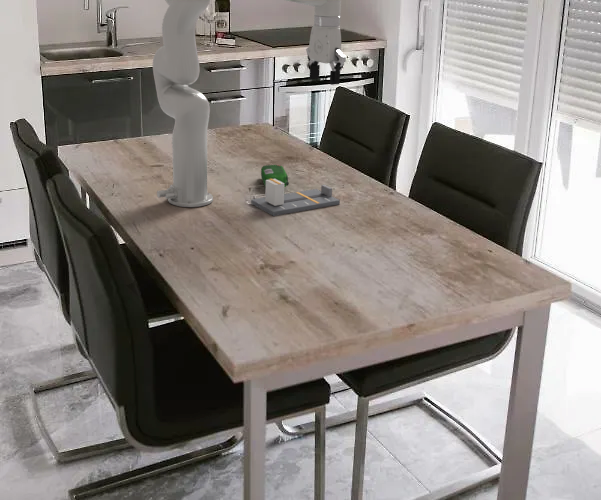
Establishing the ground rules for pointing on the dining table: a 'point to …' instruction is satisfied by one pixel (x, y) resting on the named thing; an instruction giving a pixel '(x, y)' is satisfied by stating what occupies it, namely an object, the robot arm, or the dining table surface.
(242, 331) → the dining table surface
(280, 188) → the fader tab
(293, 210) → the console
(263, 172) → the snack package
